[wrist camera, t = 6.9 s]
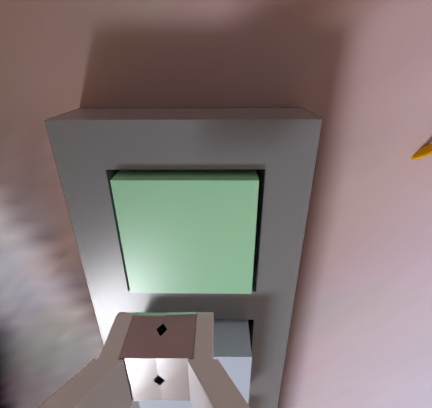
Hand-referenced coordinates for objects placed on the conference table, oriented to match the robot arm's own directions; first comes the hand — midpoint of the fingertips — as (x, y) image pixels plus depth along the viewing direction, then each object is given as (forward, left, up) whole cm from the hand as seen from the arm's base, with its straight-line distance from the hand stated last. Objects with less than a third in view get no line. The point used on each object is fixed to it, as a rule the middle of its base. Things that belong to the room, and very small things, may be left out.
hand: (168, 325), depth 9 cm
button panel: (-8, 0, -8) cm, 11 cm away
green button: (0, 0, -7) cm, 7 cm away
